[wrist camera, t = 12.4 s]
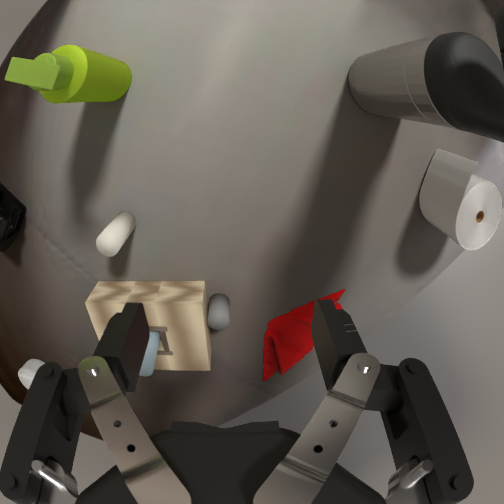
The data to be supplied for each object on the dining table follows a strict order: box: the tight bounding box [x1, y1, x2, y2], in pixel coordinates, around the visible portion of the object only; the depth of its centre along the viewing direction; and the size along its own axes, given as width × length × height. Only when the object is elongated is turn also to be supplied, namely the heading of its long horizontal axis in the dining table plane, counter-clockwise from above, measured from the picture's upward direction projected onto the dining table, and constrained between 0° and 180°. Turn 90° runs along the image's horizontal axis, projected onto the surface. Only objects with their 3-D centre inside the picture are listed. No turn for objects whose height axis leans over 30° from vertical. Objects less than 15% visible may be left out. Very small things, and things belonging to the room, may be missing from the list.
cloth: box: [263, 289, 345, 381], centre depth 51 cm, size 26×14×2 cm, turn 138°
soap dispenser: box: [5, 45, 132, 103], centre depth 22 cm, size 6×7×20 cm
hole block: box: [85, 281, 211, 371], centre depth 45 cm, size 18×14×6 cm
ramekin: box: [18, 359, 45, 390], centre depth 52 cm, size 11×11×5 cm
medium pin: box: [96, 212, 136, 257], centre depth 36 cm, size 3×3×8 cm
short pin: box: [208, 294, 230, 330], centre depth 45 cm, size 3×3×5 cm
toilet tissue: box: [419, 149, 502, 250], centre depth 36 cm, size 11×12×10 cm
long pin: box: [139, 331, 161, 376], centre depth 42 cm, size 3×3×12 cm
